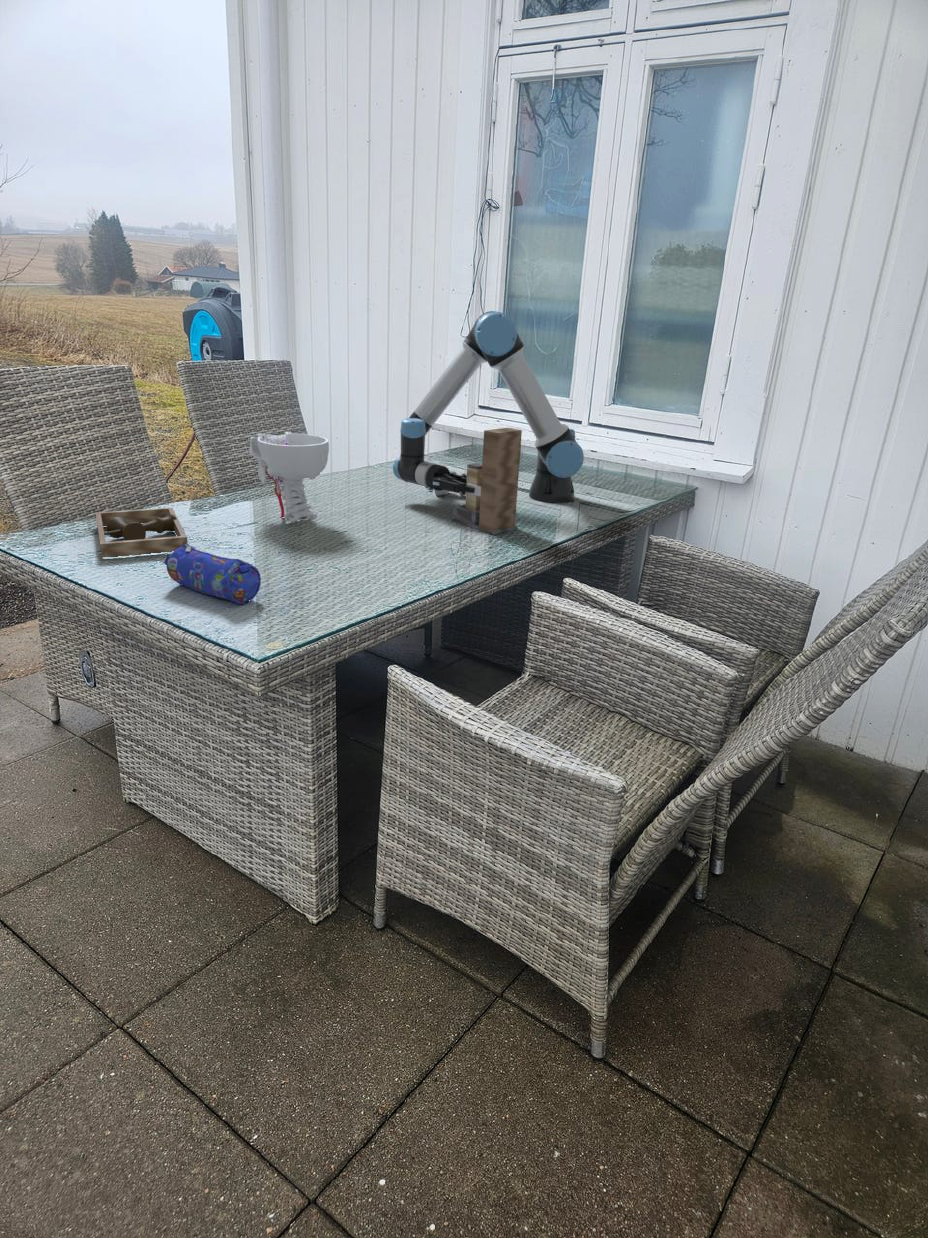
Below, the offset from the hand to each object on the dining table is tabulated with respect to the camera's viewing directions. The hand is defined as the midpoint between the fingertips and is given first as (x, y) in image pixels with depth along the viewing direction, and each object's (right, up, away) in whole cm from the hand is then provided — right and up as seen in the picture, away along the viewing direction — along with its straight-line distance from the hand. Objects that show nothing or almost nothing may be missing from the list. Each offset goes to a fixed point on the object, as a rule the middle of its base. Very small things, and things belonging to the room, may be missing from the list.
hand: (489, 491), depth 222 cm
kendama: (-91, -16, -22) cm, 95 cm away
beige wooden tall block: (-4, -6, +7) cm, 10 cm away
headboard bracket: (-1, -9, +5) cm, 10 cm away
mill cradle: (-91, -16, -22) cm, 95 cm away
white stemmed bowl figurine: (-58, -8, +2) cm, 58 cm away
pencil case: (-62, -31, -54) cm, 87 cm away
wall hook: (-12, +5, +37) cm, 39 cm away
